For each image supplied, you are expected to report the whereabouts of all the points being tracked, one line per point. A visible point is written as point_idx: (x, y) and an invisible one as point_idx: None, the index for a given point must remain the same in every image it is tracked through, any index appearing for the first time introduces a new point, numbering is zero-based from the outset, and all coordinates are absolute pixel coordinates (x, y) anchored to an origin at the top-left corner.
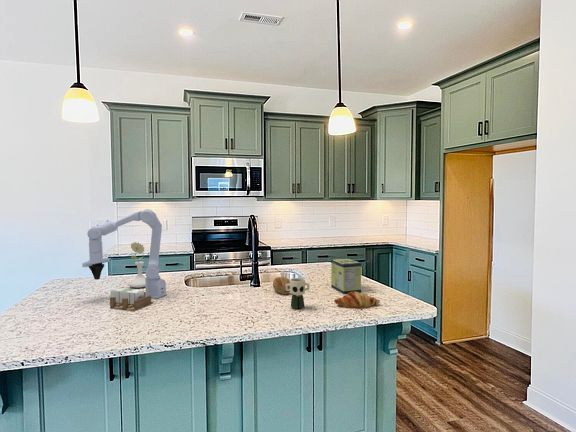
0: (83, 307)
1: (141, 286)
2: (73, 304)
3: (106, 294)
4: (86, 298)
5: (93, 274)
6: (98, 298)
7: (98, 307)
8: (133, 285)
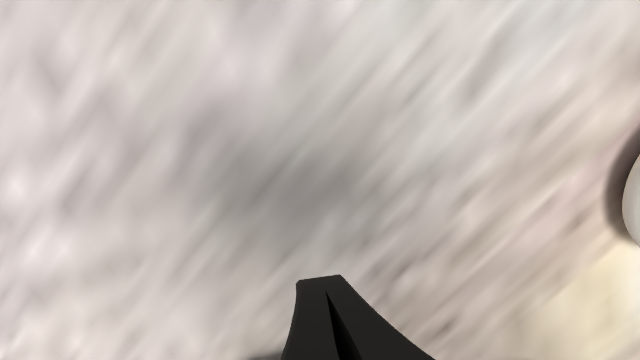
0: (99, 261)
1: (633, 239)
2: (100, 111)
3: (440, 114)
4: (287, 51)
5: (295, 341)
6: (327, 155)
7: (161, 346)
8: (635, 196)
